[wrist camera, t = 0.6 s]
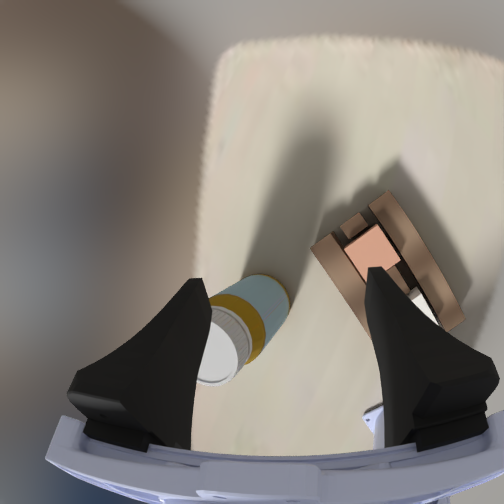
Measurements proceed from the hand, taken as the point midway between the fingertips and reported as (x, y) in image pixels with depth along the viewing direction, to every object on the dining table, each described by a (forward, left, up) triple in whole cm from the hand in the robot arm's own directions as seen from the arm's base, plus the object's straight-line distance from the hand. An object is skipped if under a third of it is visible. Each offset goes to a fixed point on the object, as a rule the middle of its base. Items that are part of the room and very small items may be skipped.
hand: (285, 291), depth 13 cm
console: (-7, -3, -21) cm, 23 cm away
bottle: (-1, +11, -22) cm, 24 cm away
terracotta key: (-3, -3, -20) cm, 20 cm away
